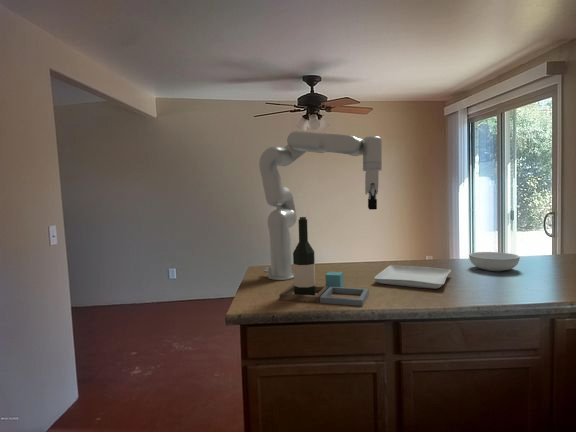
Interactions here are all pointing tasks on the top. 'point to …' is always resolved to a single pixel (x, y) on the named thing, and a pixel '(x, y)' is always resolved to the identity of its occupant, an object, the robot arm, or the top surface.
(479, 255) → the serving bowl
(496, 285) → the top surface
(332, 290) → the slate frame
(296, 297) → the walnut frame
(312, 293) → the wine bottle
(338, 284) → the teal block
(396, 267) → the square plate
